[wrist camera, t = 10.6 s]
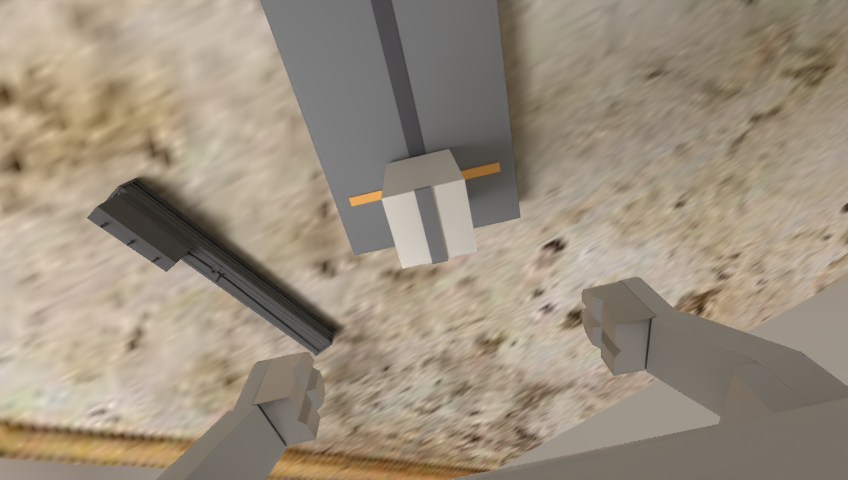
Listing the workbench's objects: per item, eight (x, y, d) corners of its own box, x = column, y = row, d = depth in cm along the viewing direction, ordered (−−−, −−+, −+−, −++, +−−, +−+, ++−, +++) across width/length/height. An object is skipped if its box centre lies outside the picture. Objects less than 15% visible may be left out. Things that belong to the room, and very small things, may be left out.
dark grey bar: (341, 322, 32) (333, 358, 28) (321, 338, 33) (310, 375, 29) (143, 170, 25) (97, 191, 21) (123, 194, 25) (75, 218, 22)
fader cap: (385, 163, 22) (380, 198, 17) (448, 147, 22) (465, 178, 16) (402, 221, 24) (402, 270, 19) (460, 208, 24) (478, 253, 18)
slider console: (221, -145, 18) (194, -175, 15) (460, -215, 17) (469, -259, 15) (358, 239, 28) (354, 256, 25) (510, 204, 27) (521, 218, 25)
